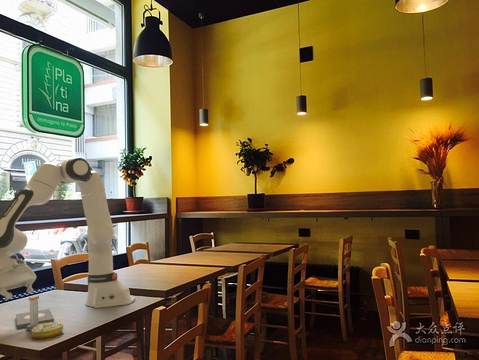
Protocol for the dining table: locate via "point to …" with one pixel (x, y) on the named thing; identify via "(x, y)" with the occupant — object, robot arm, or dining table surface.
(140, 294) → the dining table surface
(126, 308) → the dining table surface
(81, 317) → the dining table surface
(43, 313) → the slate board
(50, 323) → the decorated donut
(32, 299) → the grey stamp
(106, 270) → the robot arm
